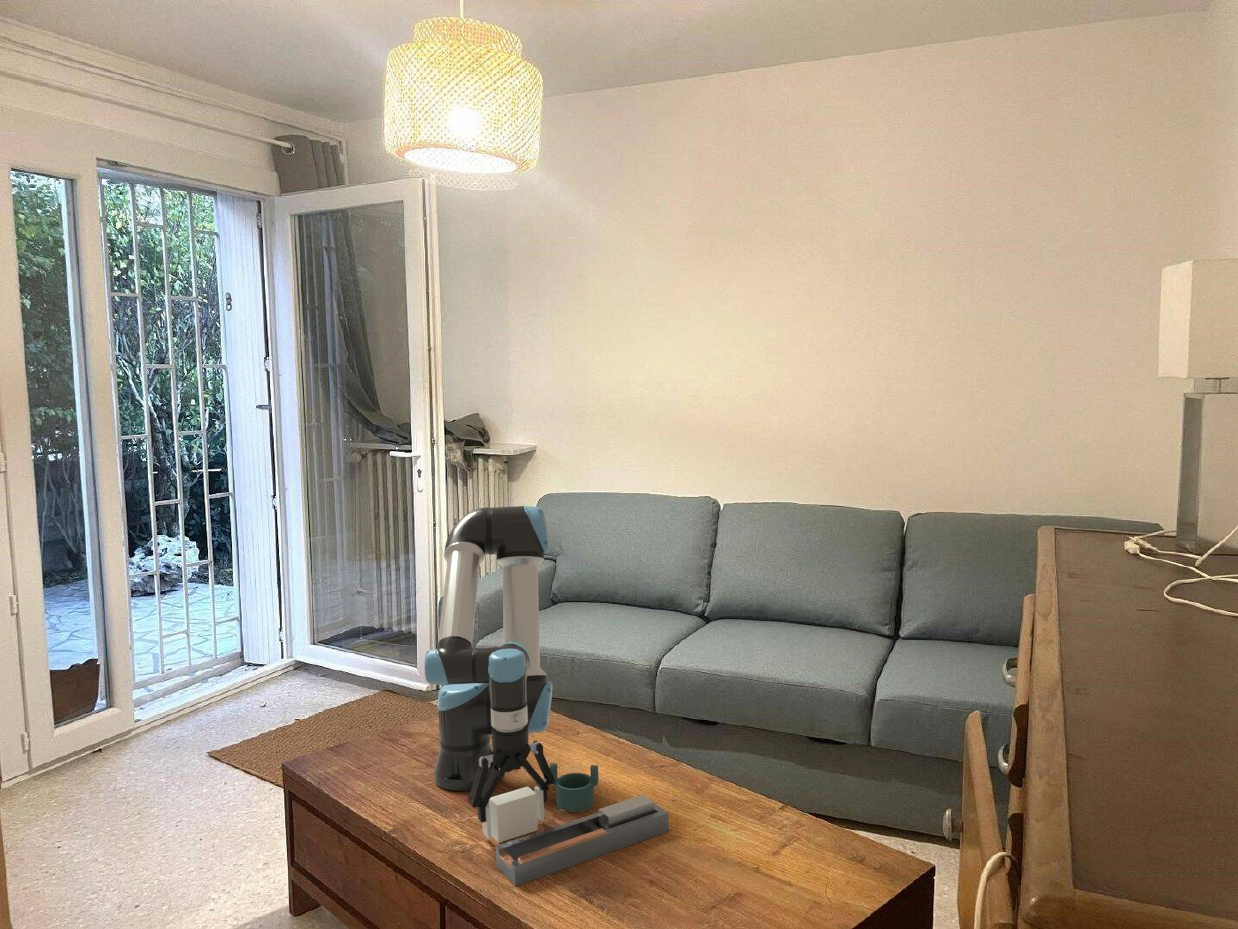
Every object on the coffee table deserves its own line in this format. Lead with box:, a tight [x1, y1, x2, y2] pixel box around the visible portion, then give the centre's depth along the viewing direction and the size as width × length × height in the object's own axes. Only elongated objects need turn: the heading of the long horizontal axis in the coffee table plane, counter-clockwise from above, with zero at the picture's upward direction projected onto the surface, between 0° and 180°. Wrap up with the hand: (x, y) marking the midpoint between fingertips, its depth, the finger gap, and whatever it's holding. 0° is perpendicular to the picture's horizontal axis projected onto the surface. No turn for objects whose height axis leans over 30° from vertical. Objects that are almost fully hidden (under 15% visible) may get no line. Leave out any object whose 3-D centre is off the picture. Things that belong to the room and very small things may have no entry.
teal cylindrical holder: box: [549, 762, 600, 813], centre depth 199 cm, size 9×9×9 cm
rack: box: [495, 794, 670, 887], centre depth 180 cm, size 8×35×6 cm, turn 122°
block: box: [488, 786, 539, 844], centre depth 187 cm, size 4×9×8 cm, turn 122°
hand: (513, 826), depth 187 cm, fingers open, 11 cm apart
